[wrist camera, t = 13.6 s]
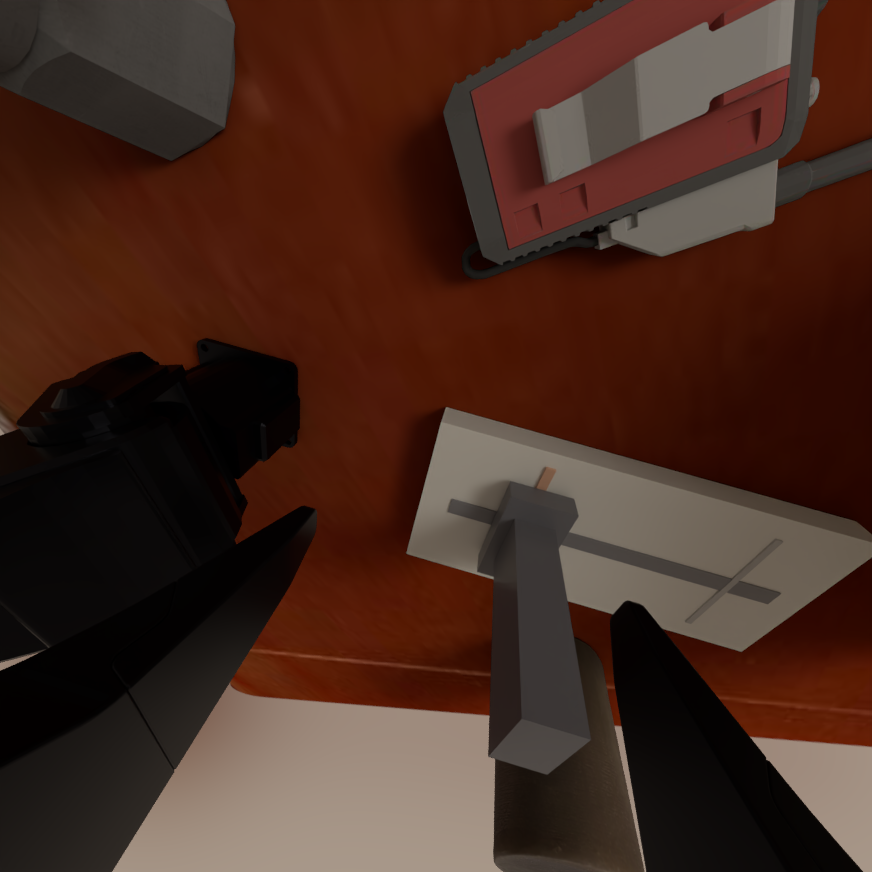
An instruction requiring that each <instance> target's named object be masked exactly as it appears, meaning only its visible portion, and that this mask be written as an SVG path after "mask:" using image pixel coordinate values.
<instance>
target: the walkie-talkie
mask: <svg viewBox="0 0 872 872" xmlns="http://www.w3.org/2000/svg"><path fill="white" fill-rule="evenodd" d="M827 2H828V0H604V1H603V2H601V3H600V1H599V0H598V1H596V2H594V3H593V6H592V8H590V9H589V10H587V11H585V12H582V11H581V10H580V11H579V12H577V13H576V15H575V18H573V19H571V20H569V21H568V22H566V23H565V21H564V20H563V21H561V22H560V23H559V25H558V27H557V28H555V29H554V30H552V31H550V32H548V30H546V31H544V32H542V37H540V38H538V39H536V40H535V41H532V40H531V39H530V40H528V41H527V42H526V46H524V47H522V48H521V49H519V50H516V49H513V50H511V54H510V55H508V56H507V57H505V58H503V59H501V58H500V57H499V58H497V59H496V61H495V63H494V64H493V65H491V66H489V67H487V68H486V66H483V67H482V68H481V72H479V73H477V74H475V75H474V76H472V75H471V74H469V75H468V76H466V80H465V81H463V82H461V83H460V84H457V82H455V84H454V86H453V89H452V91H451V94H450V96H449V99H448V101H447V103H446V106H445V108H444V111H443V113H444V118H445V122H446V126H447V129H448V133H449V136H450V140H451V144H452V147H453V151H454V155H455V158H456V162H457V166H458V169H459V173H460V176H461V180H462V184H463V187H464V191H465V195H466V198H467V202H468V206H469V209H470V213H471V216H472V220H473V224H474V227H475V231H476V235H477V238H478V241H477V242H475V243H473V244H471V245H470V246H469V247H468V248H467V249H466V250H465V251H464V253H463V255H462V269H463V271H464V273H465V274H466V275H467V276H468V277H470V278H472V279H486V278H488V277H491V276H494V275H496V274H499V273H501V272H504V271H507V270H509V269H512V268H515V267H517V266H520V265H523V264H525V263H528V262H530V261H533V260H536V259H538V258H541V257H544V256H546V255H549V254H552V253H555V252H558V251H561V250H564V249H566V248H569V247H583V248H589V247H594V246H595V249H599V250H602V249H604V248H607V247H610V246H612V245H615V244H620V245H623V246H626V247H629V248H632V249H635V250H638V251H641V252H644V253H646V254H650V255H655V256H660V257H663V256H666V255H669V254H672V253H675V252H678V251H681V250H684V249H687V248H690V247H693V246H696V245H699V244H702V243H705V242H708V241H711V240H714V239H716V238H719V237H722V236H725V235H728V234H731V233H734V232H737V231H752V230H755V229H757V228H760V227H763V226H766V225H769V224H771V223H772V222H773V220H774V213H775V207H778V206H780V205H783V204H786V203H789V202H792V201H794V200H797V199H800V198H801V197H802V196H804V195H805V193H807V192H809V191H812V190H815V189H818V188H821V187H824V186H826V185H829V184H832V183H835V182H838V181H841V180H843V179H846V178H849V177H852V176H855V175H857V174H860V173H863V172H866V171H869V170H872V138H871V139H868V140H866V141H863V142H860V143H858V144H855V145H852V146H850V147H847V148H844V149H841V150H839V151H836V152H833V153H831V154H828V155H825V156H823V157H820V158H817V159H815V160H812V161H809V162H807V163H806V162H804V161H800V162H796V163H794V164H791V165H789V166H786V167H783V168H781V169H778V170H777V167H778V159H780V158H782V157H784V156H785V155H786V154H787V153H788V152H789V151H790V150H791V149H792V148H793V147H794V146H795V145H796V144H797V143H798V142H799V140H800V137H801V134H802V131H803V128H804V125H805V122H806V119H807V115H808V108H809V107H810V106H811V105H812V104H813V103H814V102H815V100H816V99H817V96H818V93H819V81H818V79H817V78H815V77H812V78H811V75H812V64H813V53H814V42H815V31H816V20H817V16H818V15H819V13H820V12H821V11H822V10H823V8H824V7H825V5H826V3H827ZM596 226H599V232H596V233H594V234H593V237H590V238H582V237H577V236H579V235H580V233H581V232H583V231H589V232H590V231H592V230H594V227H596ZM570 236H573V237H572V238H568V237H570ZM480 249H481V252H482V255H483V257H485V258H487V259H489V260H491V261H493V262H496V263H498V265H495V266H493V267H490V268H487V269H483V270H475V269H473V268H472V267H471V266H470V257H471V255H472V254H473V253H475V252H476V251H478V250H480Z"/></svg>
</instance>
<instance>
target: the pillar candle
mask: <svg viewBox="0 0 872 872" xmlns="http://www.w3.org/2000/svg"><path fill="white" fill-rule="evenodd" d="M574 642H575V648H576V654H577V660H578V666H579V672H580V678H581V684H582V690H583V695H584V701H585V707H586V713H587V719H588V725H589V731H590V737H591V740H590V741H589V742H588V743H586V744H585V745H584V746H583V747H581V748H580V749H579V750H578V751H576V752H575V753H574V754H573V755H571V756H570V757H569V758H568V759H566V760H565V761H564V762H563V763H561V764H560V765H559V766H558V767H556V768H555V769H554V770H552V771H551V772H550V773H549V774H547V775H546V774H543V773H540V772H536V771H533V770H530V769H527V768H523V767H520V766H517V765H514V764H510V763H507V762H504V761H501V760H497V759H495V802H494V805H495V807H494V849H493V854H494V863H495V864H496V866H497V867H498V868H499V869H501V870H502V871H503V872H644V868H643V862H642V857H641V853H640V849H639V844H638V838H637V834H636V829H635V824H634V819H633V814H632V810H631V804H630V800H629V795H628V790H627V785H626V780H625V775H624V771H623V766H622V761H621V757H620V752H619V746H618V741H617V737H616V732H615V727H614V722H613V717H612V712H611V707H610V702H609V698H608V691H607V687H606V682H605V676H604V670H603V666H602V663H601V661H600V659H599V657H598V656H597V654H596V653H595V651H594V650H593V649H592V648H591V647H590V646H588V645H587V644H586V643H584V642H582V641H581V640H579V639H576V638H574Z"/></svg>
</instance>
